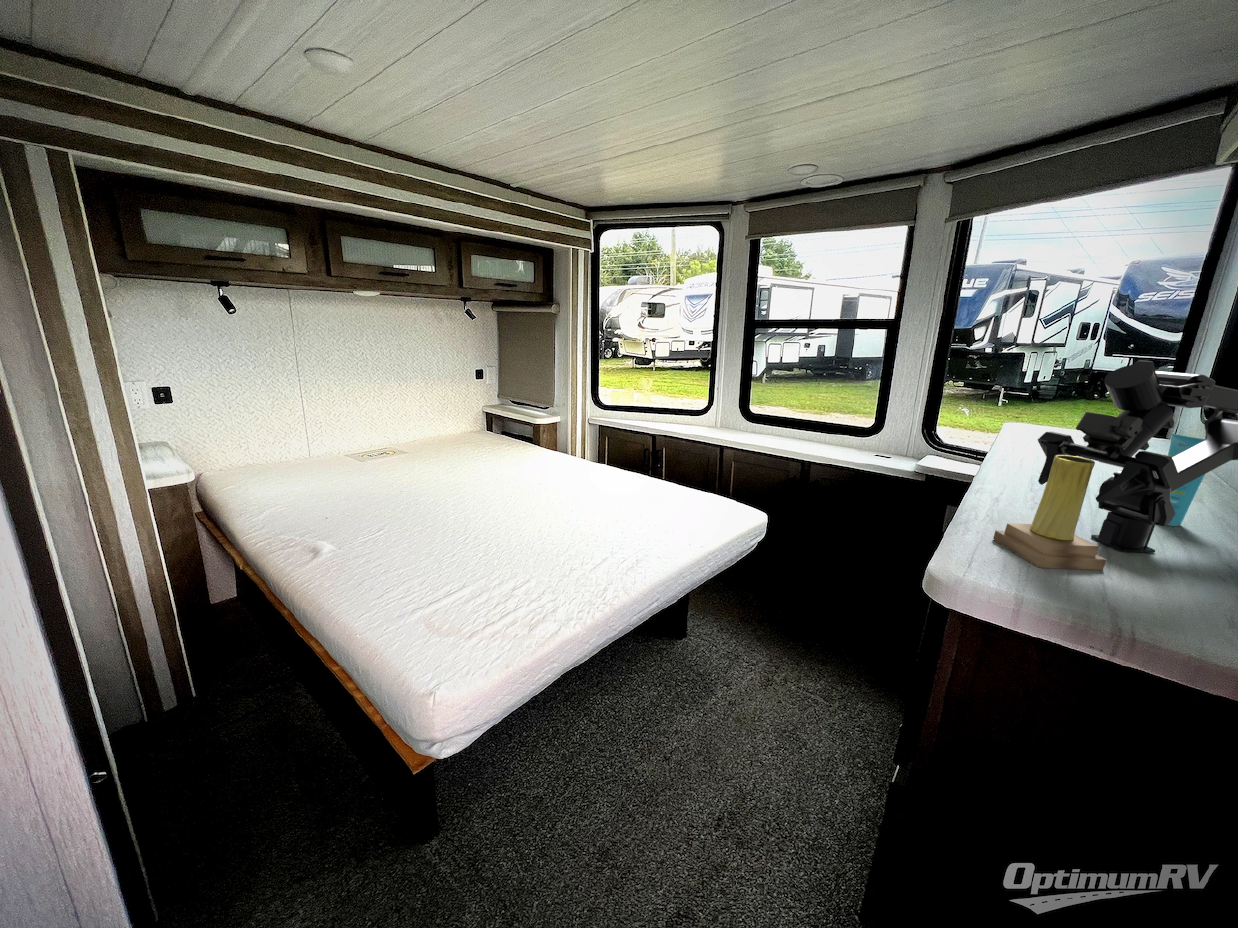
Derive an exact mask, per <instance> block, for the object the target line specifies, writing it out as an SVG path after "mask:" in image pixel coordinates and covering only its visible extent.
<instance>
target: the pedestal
mask: <svg viewBox="0 0 1238 928" xmlns="http://www.w3.org/2000/svg"><path fill="white" fill-rule="evenodd" d="M1031 525H1032V523H1012V522H1011V523H1009V522H1008V523H1006V527H1005V530H995V531H994V534H993V539H994V540H995V541H994V540H993V539H992V540H993V541H994V542H996V541H997V542H998V543H997V542H996V543H997V544H999V543H1000V544H999V545H1000V546H1002V545H1003V546H1002V547H1004V548H1006V549H1007V550H1008V551H1011V552H1012V553H1014V554H1016V555H1017V556H1019V557H1021V558H1022V559H1024V560H1025V561H1027V562H1029V563H1031V564H1032V565H1034V566H1035V567H1037V568H1040V569H1065V570H1066V569H1068V570H1069V569H1070V570H1090V571H1091V570H1097V571H1098V570H1099V571H1104V569H1105V565H1106V563H1107V558H1105V557H1102V556H1100V555H1099V554H1097V553H1098V551H1099V547H1100V546H1099V545H1097V544H1095V543H1093V542H1091V541H1089V540H1087V539H1085V538H1084V537H1080V536H1079V535H1077V534H1076V533H1075V534H1074V539H1073V540H1070V541H1061V540H1055V539H1050V538H1046V537H1043V536H1040V535H1038V534H1036V533H1034V532H1032V531H1031V530H1030V527H1031Z"/></svg>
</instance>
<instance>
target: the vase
mask: <svg viewBox="0 0 1238 928" xmlns="http://www.w3.org/2000/svg"><path fill="white" fill-rule="evenodd" d="M1095 464H1096V462H1095V460H1091V459H1087V458H1083V457H1079V456H1068V455H1056V456H1055V457H1054V460H1053V464H1052V467H1051V471H1050V475H1049V478H1048V481H1047V482H1046V483H1045V487H1044V489H1043V492H1042V496H1041V498H1040V501H1039V503H1038V507H1037V509H1036V511H1035V514H1034V517H1033V521H1032V523H1031V524H1032V525H1031V527H1030V530H1031V531H1032V532H1034V533H1036V534H1038V535H1040V536H1043V537H1046V538H1050V539H1055V540H1061V541H1070V540H1073V539H1074V534H1075V535H1076V529H1077V526H1078V522H1079V519H1080V516H1081V513H1082V507H1083V504H1084V501H1085V497H1086V494H1087V489H1088V486H1089V483H1090V480H1091V476H1092V473H1093V469H1094V467H1095Z"/></svg>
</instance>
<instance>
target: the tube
mask: <svg viewBox="0 0 1238 928" xmlns="http://www.w3.org/2000/svg"><path fill="white" fill-rule="evenodd" d="M1170 439H1171V440H1170V445H1169V449H1168V453H1167V456H1171V457H1174V456H1176V455H1178V454H1180V453H1182V452H1184V451H1185V450H1187V449H1189V448H1191V447H1193V446H1195V445H1197V444H1199V443H1201V442H1203V441H1204V440H1205V438H1201V437H1200V438H1199V437H1193V436H1187V435H1183V434H1176V433H1172V434H1171V438H1170ZM1205 476H1206V474H1204V475H1202V476H1200V477H1198V478H1196V479H1195V480H1193V481H1191V482H1189V483H1187V484H1185V485H1183V486H1181V487H1179V488H1178V489H1176V490H1174V491H1172V492H1171V495H1170V502H1171V504H1172V506H1173V509H1174V511H1175V515H1174V517H1173V519H1172V520H1171V521H1170V523H1169V524H1167V525H1166V526H1170V527H1171V526H1172V527H1179V526H1181V525H1182V523H1183V521H1184V518H1185V517H1186V515H1187V513H1188V510H1189V509H1190V507H1191V504H1192V502H1193V500H1194V498H1195V495H1196V493H1197V492H1198V490H1199V488H1200V485H1201V484H1202V482H1203V480H1204V478H1205Z"/></svg>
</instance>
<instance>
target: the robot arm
mask: <svg viewBox="0 0 1238 928" xmlns="http://www.w3.org/2000/svg"><path fill="white" fill-rule="evenodd" d="M1103 382H1104V384H1105V387H1106V389H1107V391H1108V394H1109V396H1110V398H1111V400H1112V402H1113V405H1114V406H1115V407H1116V408H1117V409H1120V410H1122V411H1120V413H1119V414H1118V415H1117V416H1114V415H1111V414H1109V415H1108V414H1103V413H1096V412H1090V411H1086V412H1084V414H1083V416H1082V417H1081V419H1080V421H1079V422H1078V424H1077V425H1076V427H1075V430H1077V431H1081V433H1083V434H1084V436H1082V439H1083V441H1084V443H1087V445H1081V444H1076V443H1075V441H1074V439H1073V437H1072V436H1071V435H1069V434H1064V433H1060V432H1055V431H1046V432H1044V433H1043V434H1042V435H1040V437H1038V438H1037V442H1038V444H1039V446H1040V447H1041V450H1042V451H1043V453H1044V455H1045V457H1046V458H1045V462H1044V464H1043V467H1042V470H1041V472H1040V475H1039V477H1038V483H1039V485H1044V484H1047V481H1048V478H1049V475H1050V471H1051V467H1052V464H1053V460H1054V457H1055V456H1056V455H1068V456H1076V457H1082V458H1086V459H1090V460H1093V461H1094V462H1095V461H1096V462H1099V463H1103V464H1106V465H1111V466H1114V467H1119V468H1122V470H1119V471H1116V472H1115V471H1114V472H1113V473H1112V475H1113V476H1110V477H1109V478H1108V479H1106V480H1104V481H1103V482H1102V483H1101V484H1100V486H1099V489H1098V495H1097V496H1096V497H1095V500H1096V502H1097V503H1098V509H1100V510H1105V511H1108V512H1107V515H1106V517H1105V519H1104V520H1103V521H1102V524H1101V525H1102V526H1101V528H1100V531H1099V533H1098V534H1091V539H1094V540H1096V541H1099V542H1100V543H1102V544H1105V545H1107V546H1108V547H1109V546H1110V547H1111V548H1113V549H1116V550H1118V551H1119V552H1125V553H1126V552H1127V553H1152V554H1153V553H1156V549H1155V548H1152V547H1150V546H1149V543H1150V540H1151V537H1152V535H1153V533H1154V529H1155V527H1156V526H1161V527H1167V526H1168V525H1167V524H1169V523H1170V521H1171V520H1172V519H1173V517H1174V515H1175V511H1174V509H1173V506H1172V504H1171V502H1170V495H1171V492H1172V491H1174V490H1176V489H1178V488H1179V487H1181V486H1183V485H1185V484H1187V483H1189V482H1191V481H1193V480H1195V479H1196V478H1198V477H1200V476H1202V475H1204V474H1205V475H1206V474H1208V473H1210V472H1211V471H1213V470H1215V469H1217V468H1219V467H1221V466H1223V465H1225V464H1226V463H1229V462H1231V461H1238V419H1237V420H1236V419H1230V418H1229V419H1228V418H1223V412H1225V413H1232V414H1233V413H1234V414H1238V389H1234V388H1229V387H1225V386H1220V385H1216V381H1215V380H1214V379H1213V378H1211V377H1209V376H1207V375H1205V374H1202V373H1201V374H1199V373H1187V372H1177V371H1176V372H1175V371H1164V370H1156V368H1155V364H1154V361H1151V360H1150V361H1149V360H1137V361H1135V363H1134V364H1130V365H1126V366H1121V367H1119V368H1117V369H1115V370H1113V371H1110V372H1109V373H1108V374H1106V375H1105V378H1104V381H1103ZM1172 407H1176V408H1185V409H1186V408H1187V409H1195V408H1197V409H1198V408H1203V407H1206V408H1211V409H1213V411H1214V413H1213V414H1212V415H1211V416H1209V418H1207V419H1206V420H1205V421H1204V429H1205V435H1204V437H1205V438H1204V439H1205V440H1204V441H1203V442H1201V443H1199V444H1197V445H1195V446H1193V447H1191V448H1189V449H1187V450H1185V451H1184V452H1182V453H1180V454H1178V455H1176V456H1174V457H1171V456H1168V454H1167V455H1166V454H1161V453H1156V452H1152V451H1147V450H1148V449H1149V448H1150V445H1149V441H1150V440H1151V439H1152V438H1153V437H1154V436H1156V435H1157V434H1158V433H1159V432H1160V430H1161V429H1162V428H1164V429H1173V428H1174V427H1175V420H1174V416H1175V415H1174V412H1173V408H1172Z"/></svg>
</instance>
